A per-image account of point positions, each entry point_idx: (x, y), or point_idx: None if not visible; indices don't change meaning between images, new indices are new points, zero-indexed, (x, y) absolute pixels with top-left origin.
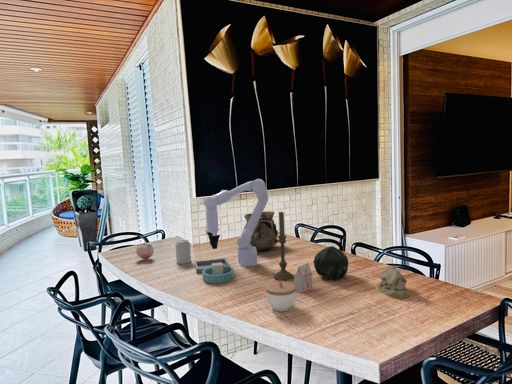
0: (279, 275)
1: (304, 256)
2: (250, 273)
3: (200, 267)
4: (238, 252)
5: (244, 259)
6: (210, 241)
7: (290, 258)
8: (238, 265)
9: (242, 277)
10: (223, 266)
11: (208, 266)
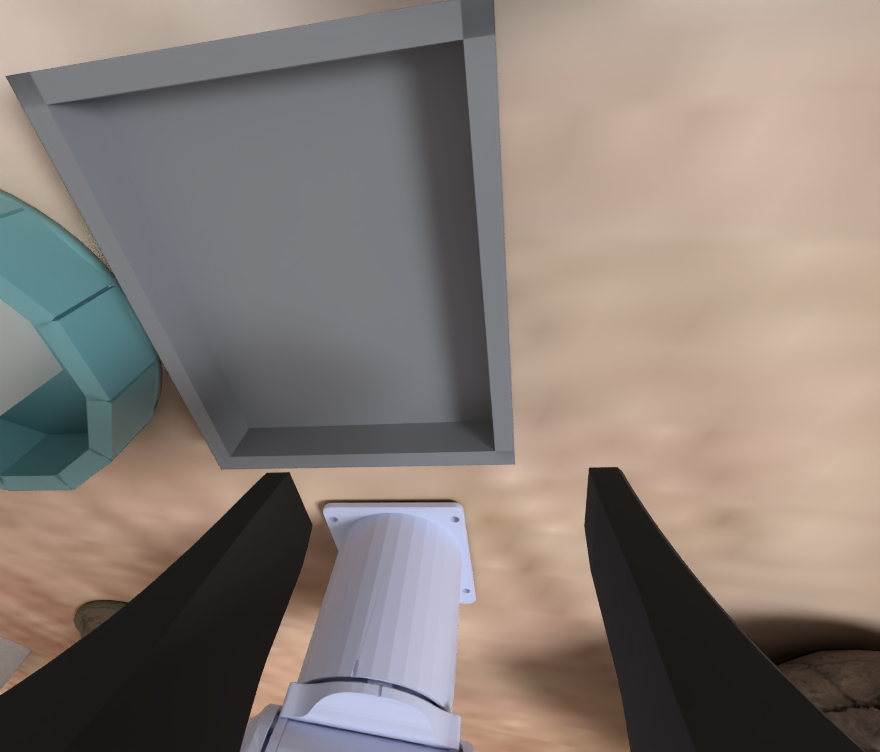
0: (86, 633)
1: (485, 747)
2: (181, 533)
3: (342, 124)
4: (345, 627)
5: (326, 589)
6: (616, 552)
7: (471, 712)
8: (354, 507)
9: (84, 484)
10: (90, 429)
11: (373, 245)
